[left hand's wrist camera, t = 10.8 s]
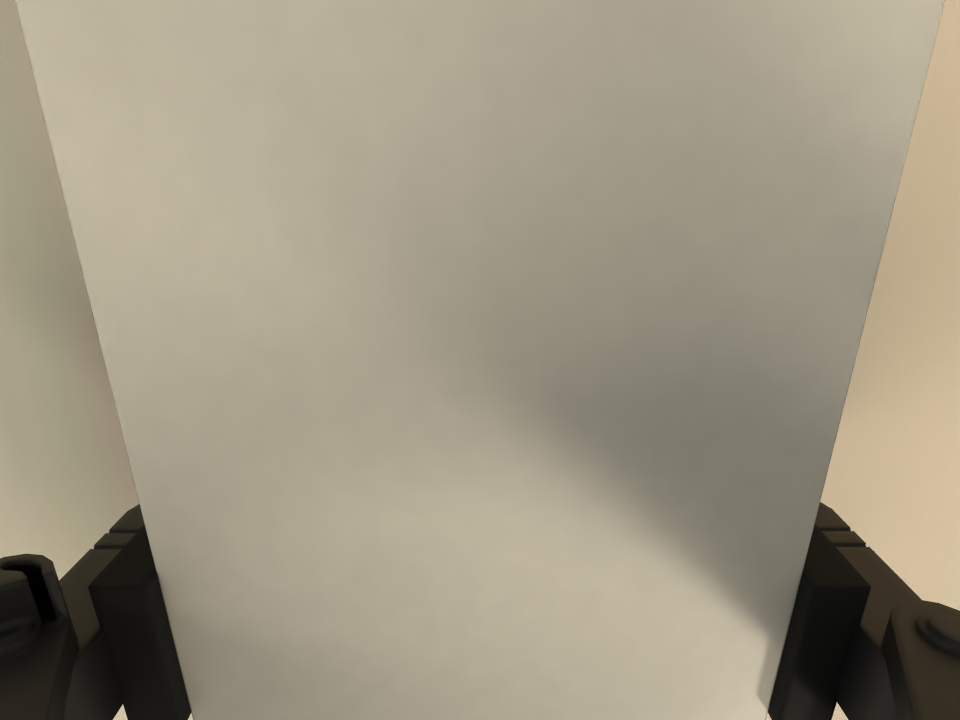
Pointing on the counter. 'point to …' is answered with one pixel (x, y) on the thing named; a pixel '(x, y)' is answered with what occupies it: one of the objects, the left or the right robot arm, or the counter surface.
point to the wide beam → (479, 331)
